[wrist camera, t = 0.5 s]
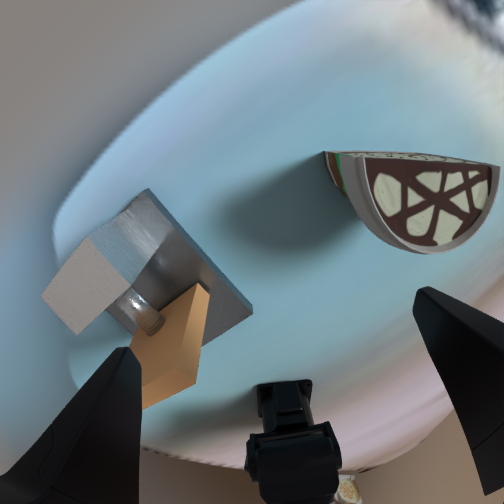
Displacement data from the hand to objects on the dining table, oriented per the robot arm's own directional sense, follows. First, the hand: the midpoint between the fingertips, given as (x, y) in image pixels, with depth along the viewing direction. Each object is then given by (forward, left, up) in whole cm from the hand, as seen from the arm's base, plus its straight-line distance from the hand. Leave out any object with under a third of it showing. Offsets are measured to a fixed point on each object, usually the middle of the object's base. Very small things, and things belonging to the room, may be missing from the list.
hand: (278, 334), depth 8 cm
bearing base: (-7, +9, -16) cm, 20 cm away
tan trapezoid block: (-6, +9, -14) cm, 18 cm away
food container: (+2, -11, -17) cm, 20 cm away
